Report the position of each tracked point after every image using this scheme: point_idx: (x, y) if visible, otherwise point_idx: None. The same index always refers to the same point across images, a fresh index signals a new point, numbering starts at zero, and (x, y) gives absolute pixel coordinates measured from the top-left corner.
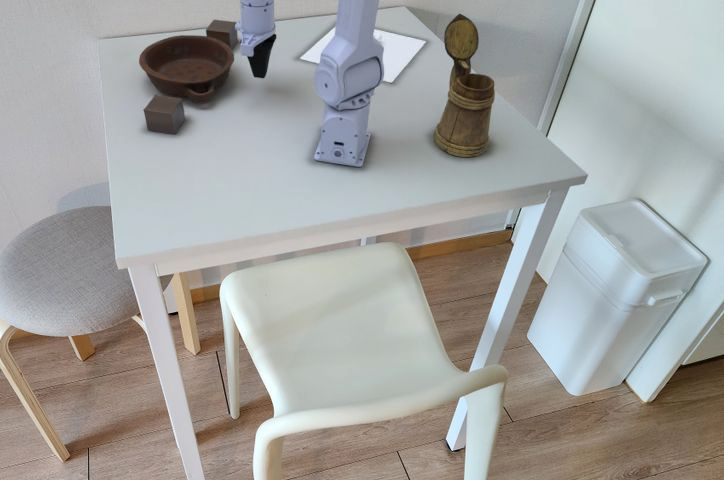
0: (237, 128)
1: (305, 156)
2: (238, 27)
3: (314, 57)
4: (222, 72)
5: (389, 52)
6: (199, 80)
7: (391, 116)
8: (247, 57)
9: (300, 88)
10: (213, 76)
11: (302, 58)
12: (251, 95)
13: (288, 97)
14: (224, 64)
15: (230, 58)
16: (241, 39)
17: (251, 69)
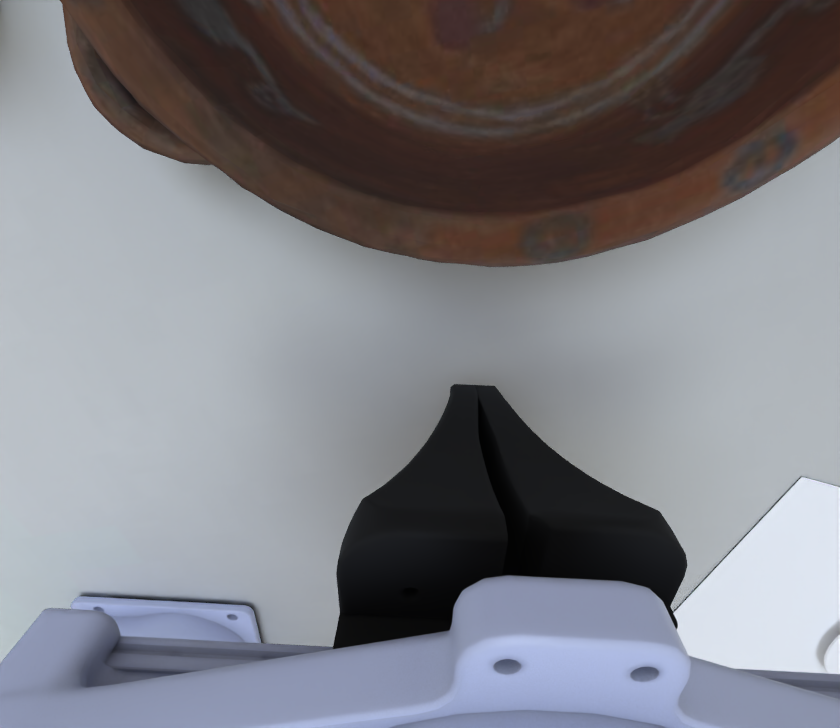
0: (101, 344)
1: (85, 572)
2: (455, 673)
3: (801, 528)
4: (317, 227)
5: None
6: (104, 44)
7: None
8: (417, 453)
9: None
10: (229, 165)
11: (800, 487)
12: (404, 338)
13: None
14: (646, 120)
15: (560, 233)
16: (430, 539)
17: (448, 403)
